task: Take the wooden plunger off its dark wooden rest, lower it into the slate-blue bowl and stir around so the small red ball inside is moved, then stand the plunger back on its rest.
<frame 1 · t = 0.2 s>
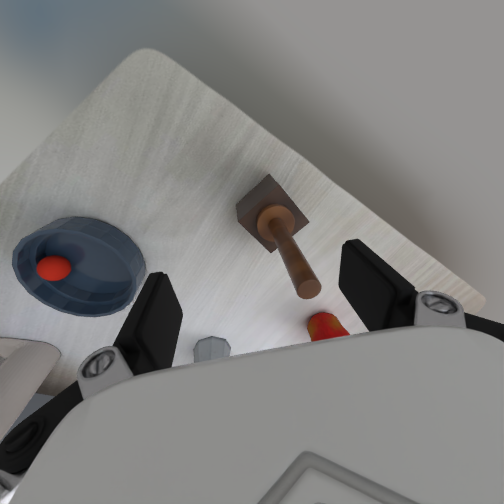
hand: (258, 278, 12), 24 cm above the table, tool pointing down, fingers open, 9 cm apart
coffee maker: (214, 350, 52), on the table
candle: (23, 349, 45), on the table
apple: (319, 319, 51), on the table
wooden plunger: (274, 221, 29), point 7 cm above the table, touching rest
ball: (54, 268, 34), point 3 cm above the table, touching bowl
bowl: (95, 260, 37), on the table
rest: (266, 205, 35), on the table
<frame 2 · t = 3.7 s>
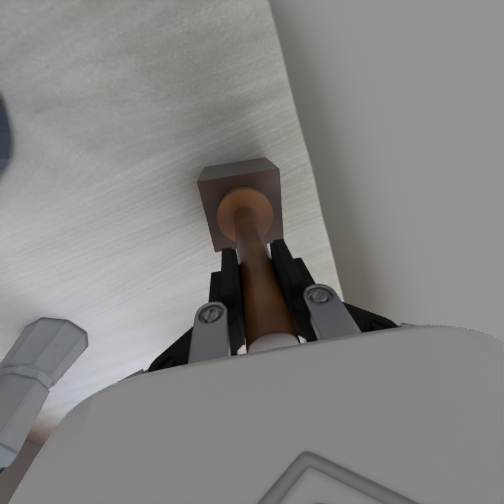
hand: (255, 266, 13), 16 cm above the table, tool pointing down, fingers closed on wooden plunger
coffee maker: (60, 340, 35), on the table
wooden plunger: (244, 214, 20), point 7 cm above the table, touching gripper, rest
rest: (240, 193, 26), on the table
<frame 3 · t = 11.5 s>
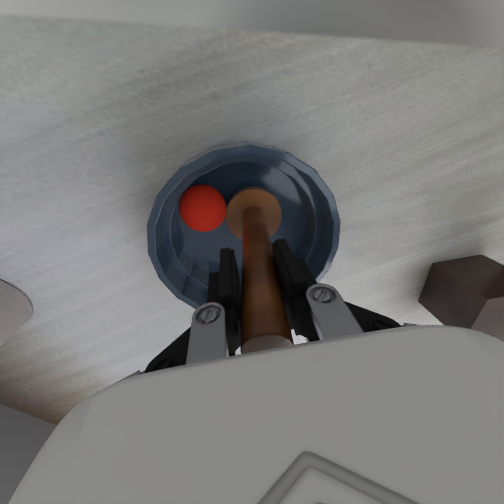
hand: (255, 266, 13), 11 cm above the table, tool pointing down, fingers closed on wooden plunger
wooden plunger: (253, 213, 20), point 2 cm above the table, touching ball, gripper
ball: (203, 208, 19), point 3 cm above the table, touching bowl, wooden plunger
bowl: (243, 227, 23), on the table
rest: (448, 279, 31), on the table
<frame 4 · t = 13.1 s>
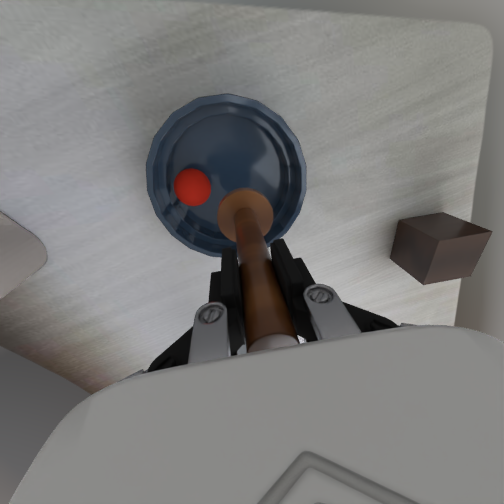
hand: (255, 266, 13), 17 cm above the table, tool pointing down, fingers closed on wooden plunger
wooden plunger: (244, 214, 20), point 9 cm above the table, touching gripper
ball: (192, 187, 24), point 3 cm above the table, tilted 75°, touching bowl
bowl: (228, 180, 27), on the table
rest: (415, 236, 34), on the table
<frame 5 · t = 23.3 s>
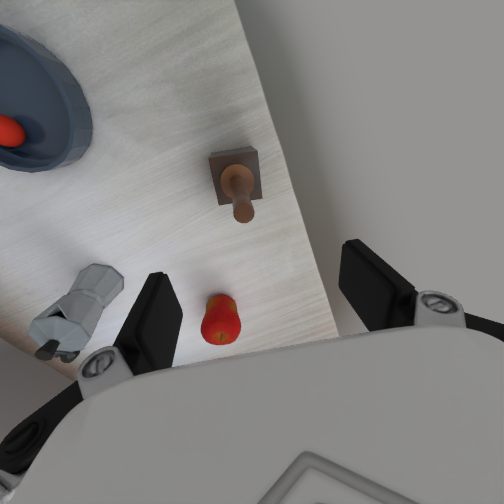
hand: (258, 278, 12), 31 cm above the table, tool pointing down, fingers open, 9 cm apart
coffee maker: (103, 283, 47), on the table
apple: (221, 301, 54), on the table
wooden plunger: (237, 180, 32), point 7 cm above the table, touching rest
ball: (5, 130, 30), point 3 cm above the table, tilted 136°, touching bowl
bowl: (30, 106, 31), on the table
rest: (235, 171, 38), on the table
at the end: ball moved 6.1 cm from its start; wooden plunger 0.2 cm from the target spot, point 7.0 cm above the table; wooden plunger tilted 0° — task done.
